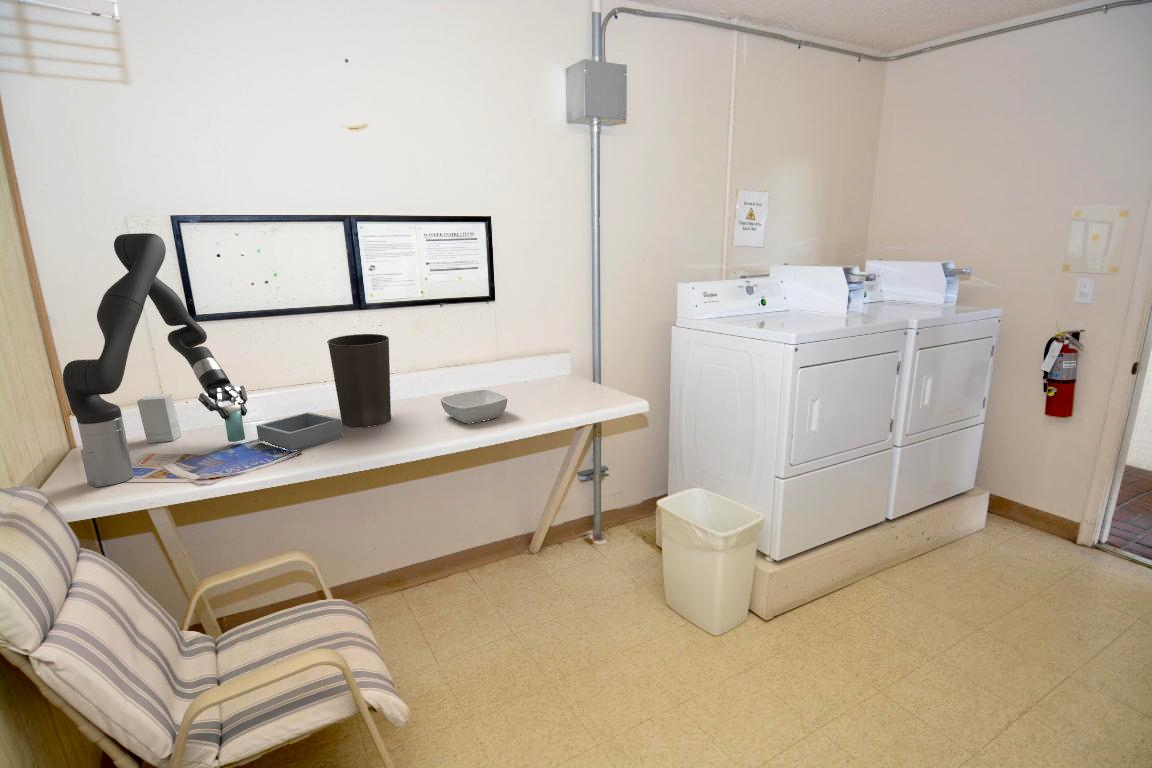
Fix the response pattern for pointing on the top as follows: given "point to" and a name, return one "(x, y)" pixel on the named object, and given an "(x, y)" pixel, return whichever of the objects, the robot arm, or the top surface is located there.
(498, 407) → the square bowl
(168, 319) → the robot arm
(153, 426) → the skincare box
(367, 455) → the top surface
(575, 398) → the top surface
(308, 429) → the slate bin
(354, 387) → the waste basket
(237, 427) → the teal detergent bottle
